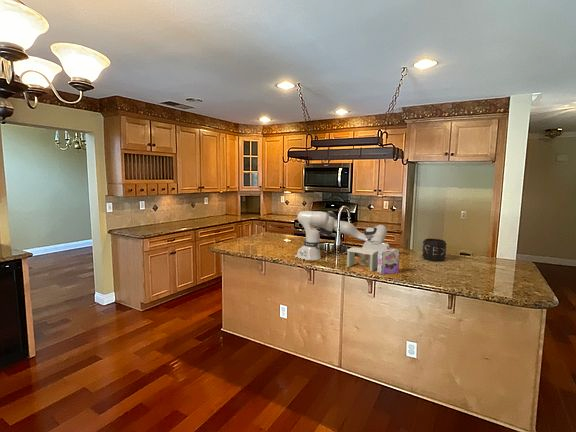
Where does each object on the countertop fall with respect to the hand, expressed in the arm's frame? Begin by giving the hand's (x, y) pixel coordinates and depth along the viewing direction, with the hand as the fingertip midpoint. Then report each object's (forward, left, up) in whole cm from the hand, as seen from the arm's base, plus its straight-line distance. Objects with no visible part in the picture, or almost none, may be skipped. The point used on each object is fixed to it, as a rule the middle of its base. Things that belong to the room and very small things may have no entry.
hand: (372, 256), depth 267 cm
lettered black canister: (+37, +39, -5) cm, 54 cm away
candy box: (+20, -20, -5) cm, 29 cm away
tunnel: (0, -19, -4) cm, 20 cm away
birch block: (0, -8, -5) cm, 9 cm away
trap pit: (0, -27, -4) cm, 27 cm away
